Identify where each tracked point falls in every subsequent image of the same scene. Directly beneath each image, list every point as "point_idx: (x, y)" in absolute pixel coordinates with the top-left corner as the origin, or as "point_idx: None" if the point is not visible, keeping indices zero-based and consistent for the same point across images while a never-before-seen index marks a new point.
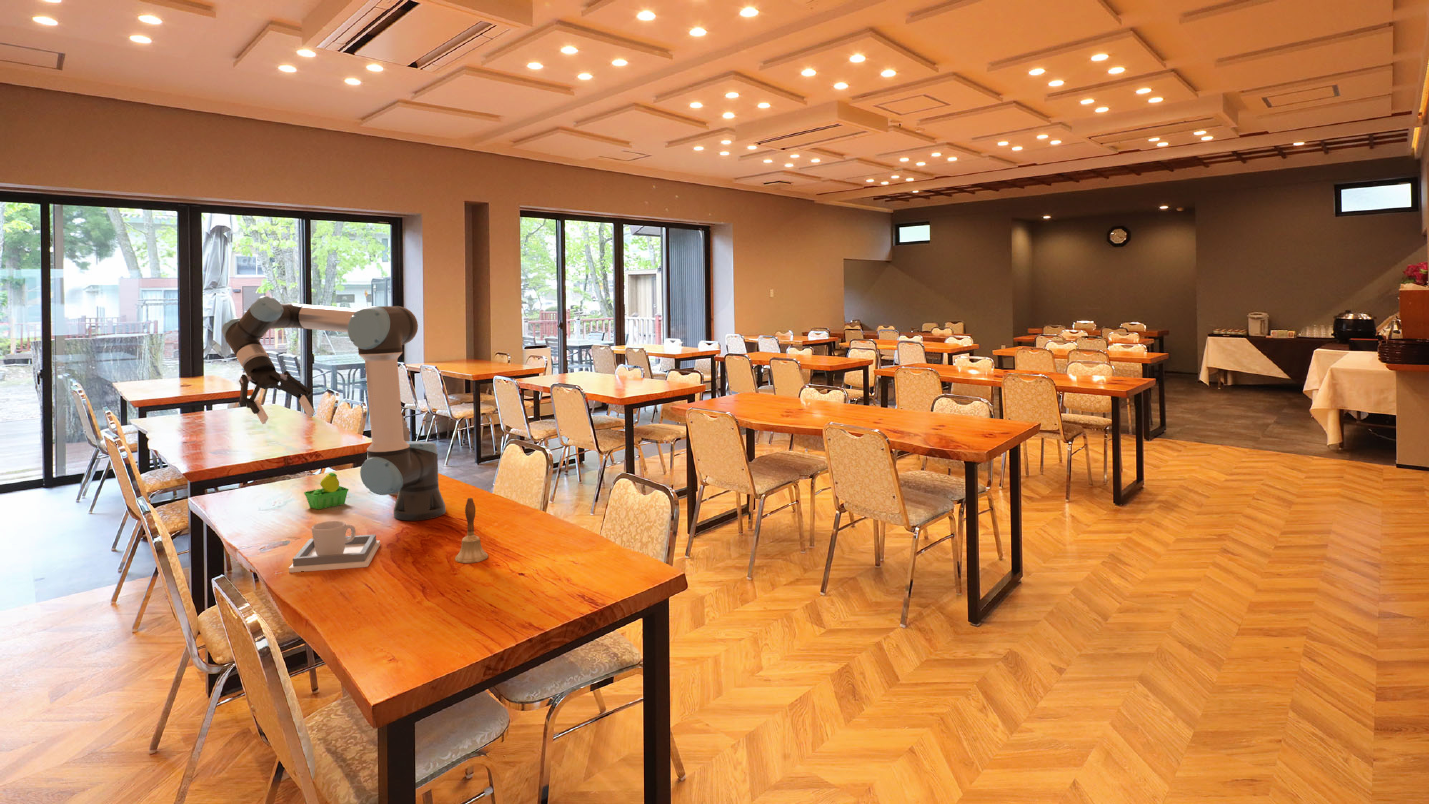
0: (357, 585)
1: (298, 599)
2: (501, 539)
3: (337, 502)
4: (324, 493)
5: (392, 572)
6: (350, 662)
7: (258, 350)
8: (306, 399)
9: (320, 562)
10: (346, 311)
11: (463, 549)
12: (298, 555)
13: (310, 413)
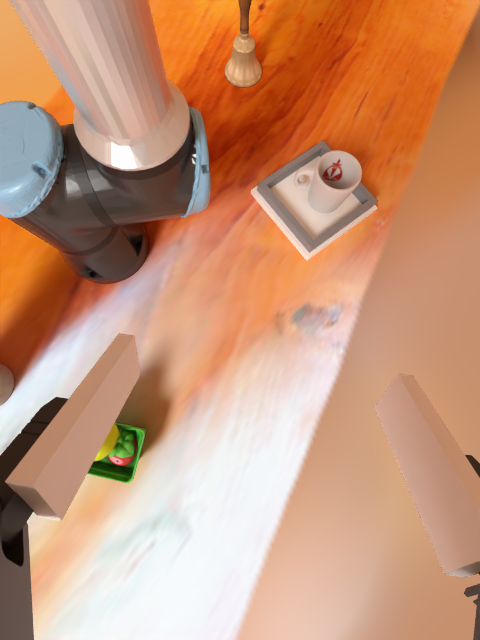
0: (362, 119)
1: (417, 141)
2: (171, 80)
3: None
4: (120, 433)
5: (317, 114)
6: (470, 17)
7: None
8: (56, 424)
9: None
10: None
11: (255, 58)
12: (366, 204)
13: (134, 356)
